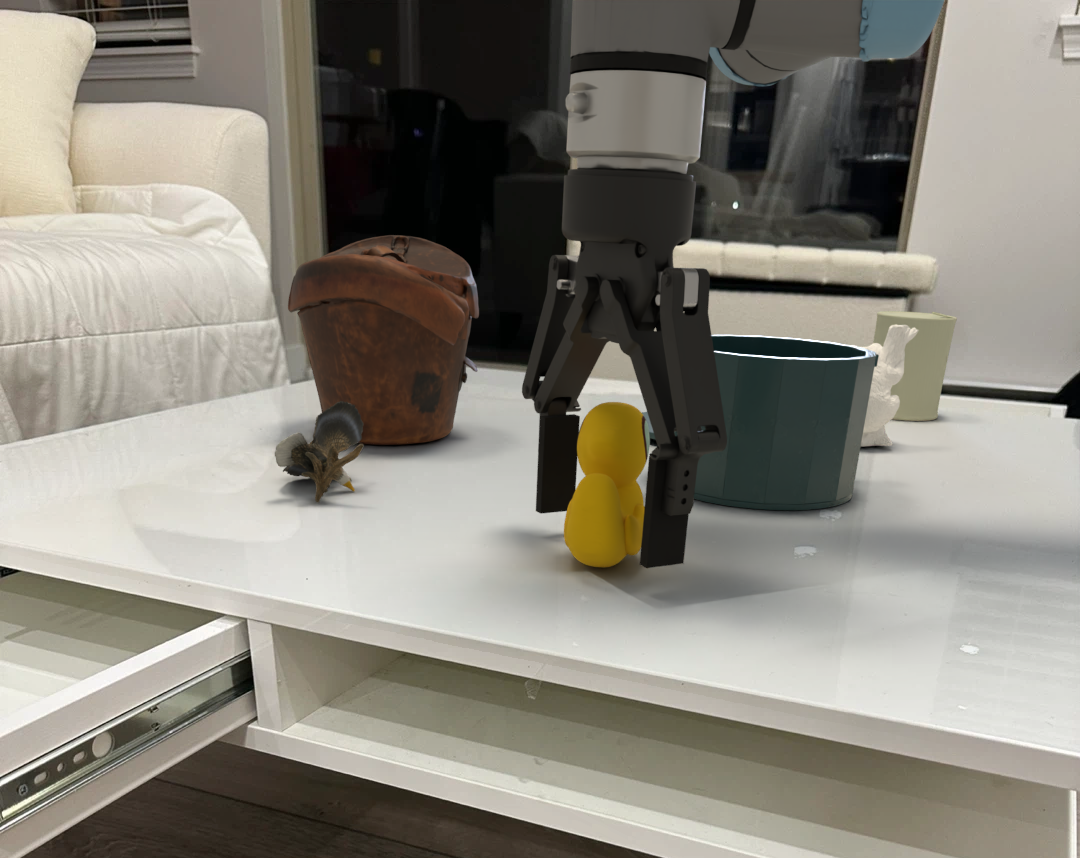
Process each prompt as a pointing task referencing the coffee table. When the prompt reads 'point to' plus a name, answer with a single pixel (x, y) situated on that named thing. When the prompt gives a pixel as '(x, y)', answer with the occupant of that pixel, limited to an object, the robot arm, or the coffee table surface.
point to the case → (389, 333)
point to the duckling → (608, 486)
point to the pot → (787, 423)
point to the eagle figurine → (324, 448)
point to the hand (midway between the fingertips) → (604, 536)
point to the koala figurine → (885, 384)
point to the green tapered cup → (919, 361)
